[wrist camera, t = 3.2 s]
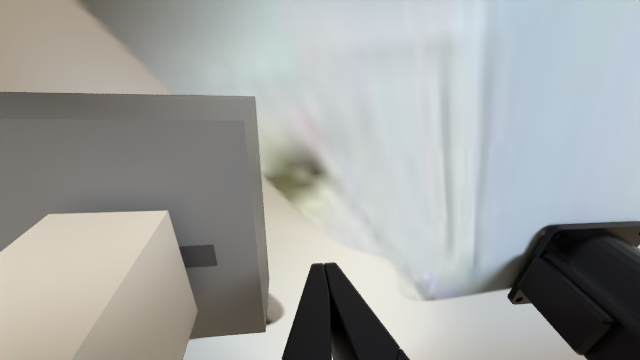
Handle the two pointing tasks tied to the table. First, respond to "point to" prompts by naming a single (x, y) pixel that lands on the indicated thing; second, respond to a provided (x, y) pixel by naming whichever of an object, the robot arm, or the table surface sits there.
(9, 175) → the fader console
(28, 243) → the fader tab
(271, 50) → the table surface
